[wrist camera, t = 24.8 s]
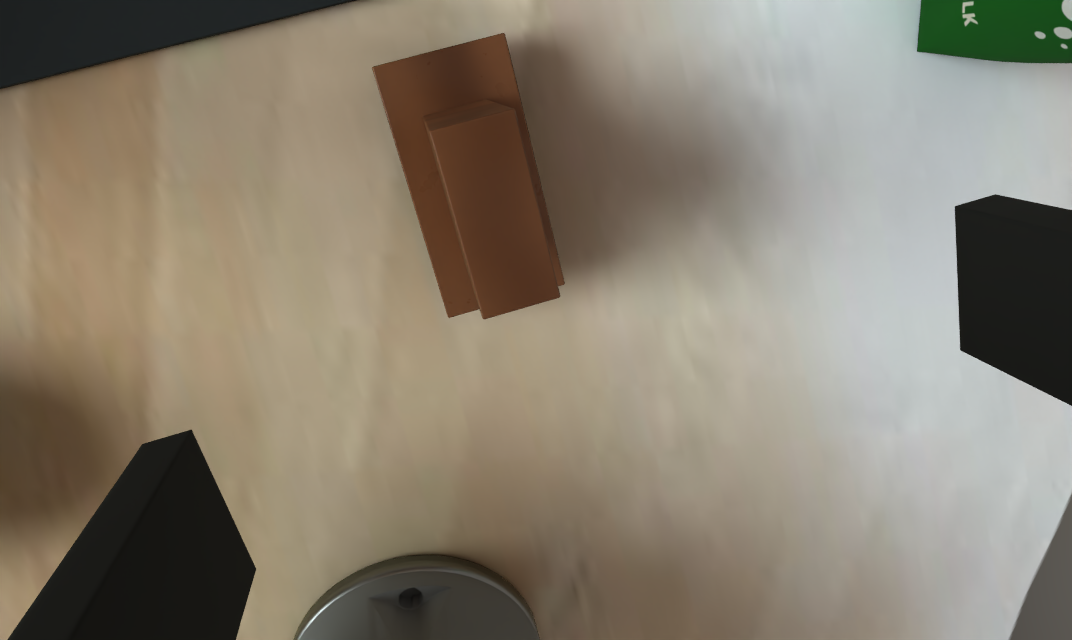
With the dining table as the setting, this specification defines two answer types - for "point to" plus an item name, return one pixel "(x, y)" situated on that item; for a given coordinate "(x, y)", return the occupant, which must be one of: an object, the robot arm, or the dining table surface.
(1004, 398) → the dining table surface
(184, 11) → the mat
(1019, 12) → the milk carton
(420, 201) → the scrub brush
